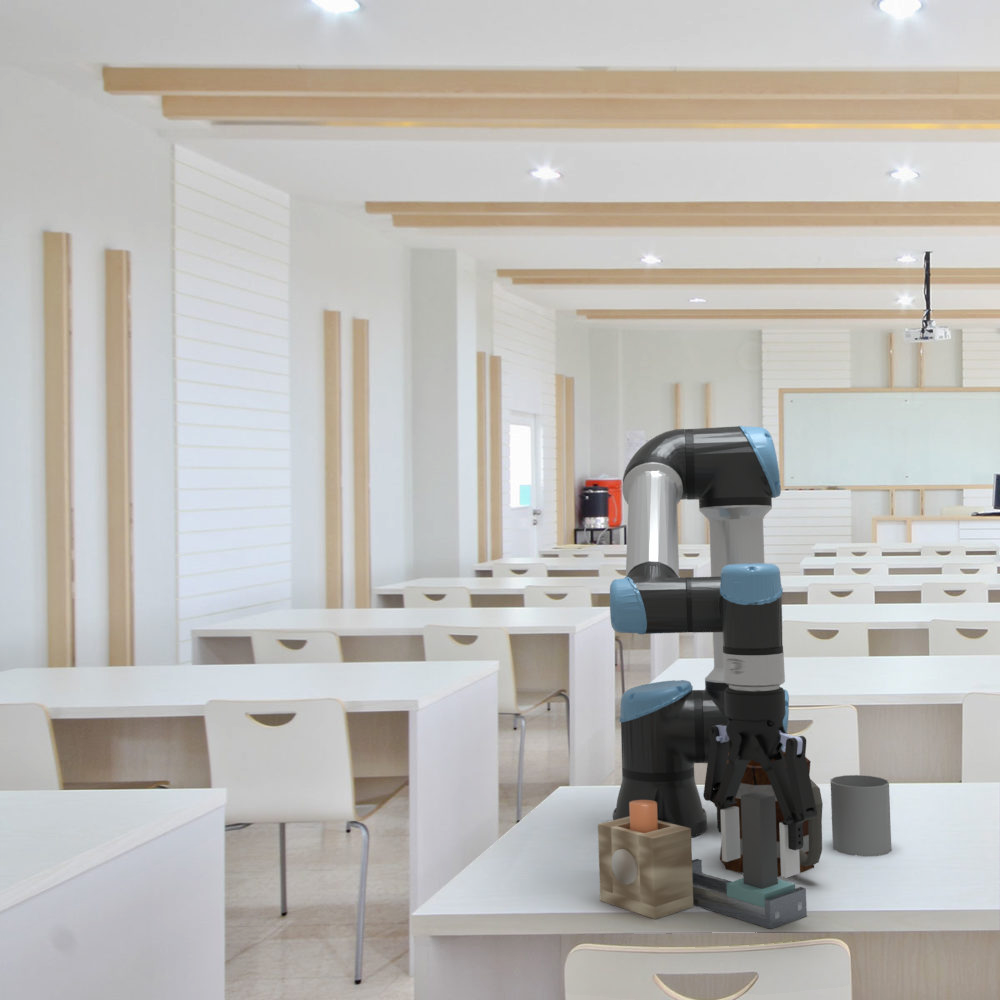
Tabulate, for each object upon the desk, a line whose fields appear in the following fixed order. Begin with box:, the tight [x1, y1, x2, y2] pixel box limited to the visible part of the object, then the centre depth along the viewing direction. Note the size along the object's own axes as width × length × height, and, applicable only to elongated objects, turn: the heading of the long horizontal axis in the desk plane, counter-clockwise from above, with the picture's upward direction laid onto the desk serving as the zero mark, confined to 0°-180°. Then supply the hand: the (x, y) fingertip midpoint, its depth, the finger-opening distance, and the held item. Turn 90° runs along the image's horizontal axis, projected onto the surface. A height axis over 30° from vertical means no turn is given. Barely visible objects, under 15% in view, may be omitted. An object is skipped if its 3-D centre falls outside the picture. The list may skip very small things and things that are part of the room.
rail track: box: [692, 858, 808, 930], centre depth 151 cm, size 18×7×3 cm, turn 38°
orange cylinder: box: [629, 800, 658, 833], centre depth 152 cm, size 4×4×8 cm
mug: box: [719, 751, 823, 877], centre depth 166 cm, size 20×14×15 cm
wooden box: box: [597, 816, 694, 920], centre depth 152 cm, size 10×7×10 cm
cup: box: [830, 774, 892, 857], centre depth 175 cm, size 8×8×10 cm
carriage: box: [726, 792, 797, 907], centre depth 147 cm, size 6×6×13 cm
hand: (760, 866), depth 147 cm, fingers open, 9 cm apart
